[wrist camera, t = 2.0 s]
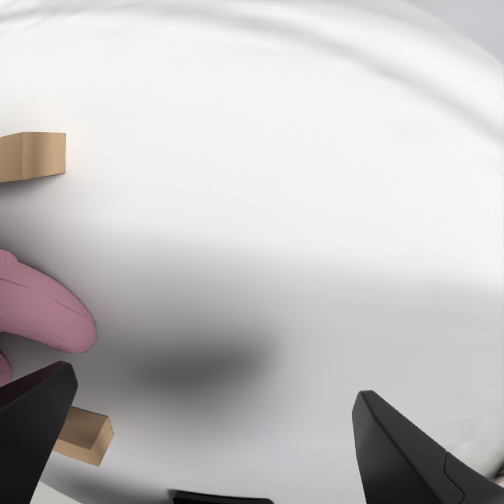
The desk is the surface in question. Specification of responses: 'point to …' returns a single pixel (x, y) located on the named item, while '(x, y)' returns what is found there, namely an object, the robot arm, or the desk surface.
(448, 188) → the desk surface
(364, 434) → the robot arm
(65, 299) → the video game controller
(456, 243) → the desk surface
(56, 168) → the pair of wooden bars
